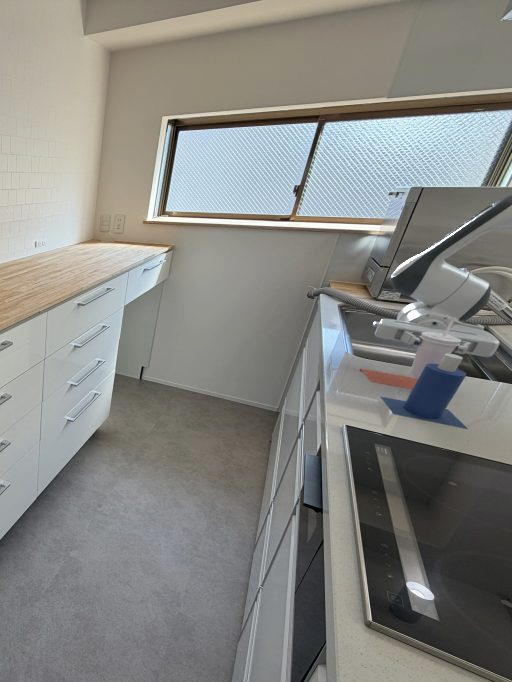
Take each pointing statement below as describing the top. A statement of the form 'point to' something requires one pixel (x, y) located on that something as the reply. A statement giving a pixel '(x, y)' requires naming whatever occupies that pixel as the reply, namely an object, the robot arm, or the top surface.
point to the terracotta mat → (390, 379)
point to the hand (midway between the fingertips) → (438, 346)
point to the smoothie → (433, 349)
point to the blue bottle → (435, 387)
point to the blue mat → (398, 409)
